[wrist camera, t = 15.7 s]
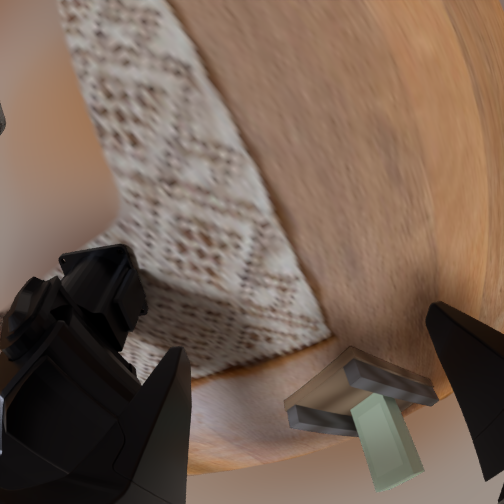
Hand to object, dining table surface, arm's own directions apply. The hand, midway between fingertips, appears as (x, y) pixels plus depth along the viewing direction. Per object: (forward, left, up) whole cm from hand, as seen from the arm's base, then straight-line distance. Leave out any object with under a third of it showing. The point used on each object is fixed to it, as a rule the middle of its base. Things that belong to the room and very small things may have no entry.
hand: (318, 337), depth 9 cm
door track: (+11, -26, -12) cm, 31 cm away
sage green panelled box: (+11, -26, -10) cm, 30 cm away
